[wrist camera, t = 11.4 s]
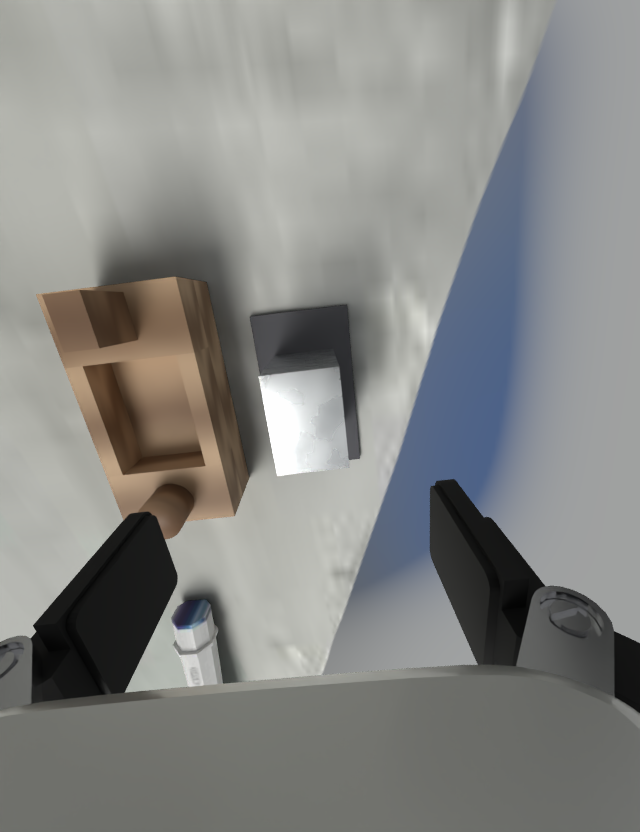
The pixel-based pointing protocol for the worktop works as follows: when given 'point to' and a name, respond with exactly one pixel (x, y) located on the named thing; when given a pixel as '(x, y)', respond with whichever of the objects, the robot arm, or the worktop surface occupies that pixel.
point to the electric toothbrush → (197, 643)
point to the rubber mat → (312, 349)
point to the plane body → (153, 395)
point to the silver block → (305, 412)
